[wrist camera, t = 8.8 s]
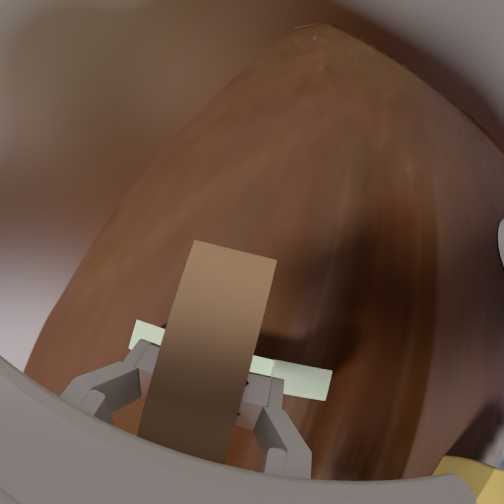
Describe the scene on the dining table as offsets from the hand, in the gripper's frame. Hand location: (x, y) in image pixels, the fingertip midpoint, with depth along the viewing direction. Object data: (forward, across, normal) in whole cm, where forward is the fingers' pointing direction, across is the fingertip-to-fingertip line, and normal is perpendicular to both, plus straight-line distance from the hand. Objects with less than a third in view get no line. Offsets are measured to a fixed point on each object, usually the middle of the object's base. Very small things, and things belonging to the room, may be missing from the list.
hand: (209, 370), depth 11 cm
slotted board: (+12, 0, +11) cm, 16 cm away
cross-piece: (+3, 0, +3) cm, 4 cm away
